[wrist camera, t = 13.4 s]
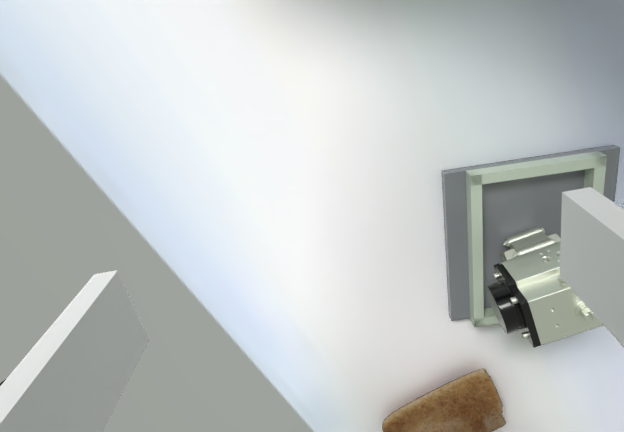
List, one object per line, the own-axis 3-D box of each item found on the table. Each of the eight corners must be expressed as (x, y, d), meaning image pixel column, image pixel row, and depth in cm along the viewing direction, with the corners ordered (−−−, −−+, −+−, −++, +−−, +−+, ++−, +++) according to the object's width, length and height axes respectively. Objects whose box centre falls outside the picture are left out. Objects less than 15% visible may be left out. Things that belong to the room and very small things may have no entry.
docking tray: (441, 170, 44) (448, 179, 41) (613, 144, 42) (630, 152, 40) (449, 314, 50) (455, 329, 48) (597, 296, 49) (611, 309, 47)
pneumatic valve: (588, 243, 45) (675, 315, 34) (474, 283, 47) (522, 362, 36) (578, 196, 43) (666, 256, 32) (459, 239, 45) (505, 310, 34)
